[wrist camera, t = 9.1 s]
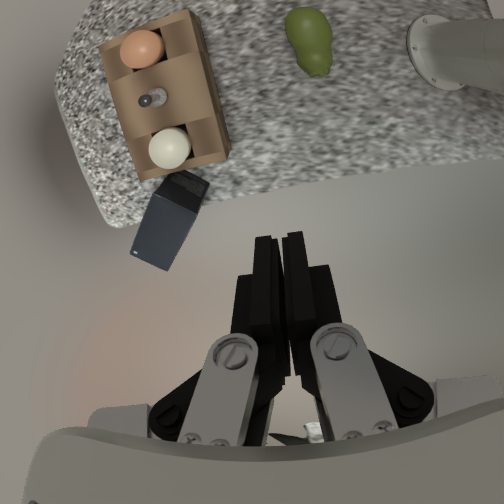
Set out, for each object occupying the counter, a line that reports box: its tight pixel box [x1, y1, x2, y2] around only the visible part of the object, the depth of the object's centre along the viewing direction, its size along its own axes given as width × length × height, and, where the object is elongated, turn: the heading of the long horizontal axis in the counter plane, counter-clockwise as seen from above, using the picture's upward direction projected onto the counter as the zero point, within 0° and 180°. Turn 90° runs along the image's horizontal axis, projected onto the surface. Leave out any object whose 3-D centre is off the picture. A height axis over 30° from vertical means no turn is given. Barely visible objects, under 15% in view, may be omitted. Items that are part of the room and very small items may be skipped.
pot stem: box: [138, 87, 168, 107], centre depth 27 cm, size 2×2×5 cm
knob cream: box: [149, 124, 192, 169], centre depth 33 cm, size 5×5×8 cm
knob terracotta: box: [120, 30, 168, 68], centre depth 26 cm, size 5×5×8 cm
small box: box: [130, 170, 209, 271], centre depth 39 cm, size 11×6×10 cm, turn 149°
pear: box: [285, 7, 332, 77], centre depth 27 cm, size 6×5×10 cm
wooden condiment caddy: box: [99, 9, 231, 181], centre depth 31 cm, size 12×20×6 cm, turn 12°
